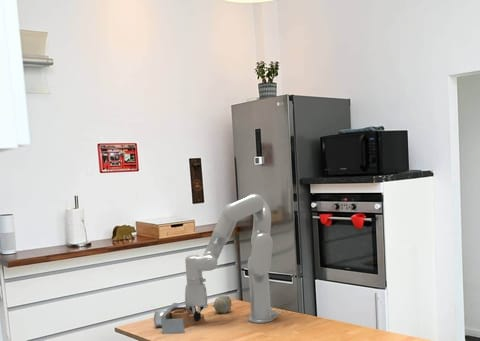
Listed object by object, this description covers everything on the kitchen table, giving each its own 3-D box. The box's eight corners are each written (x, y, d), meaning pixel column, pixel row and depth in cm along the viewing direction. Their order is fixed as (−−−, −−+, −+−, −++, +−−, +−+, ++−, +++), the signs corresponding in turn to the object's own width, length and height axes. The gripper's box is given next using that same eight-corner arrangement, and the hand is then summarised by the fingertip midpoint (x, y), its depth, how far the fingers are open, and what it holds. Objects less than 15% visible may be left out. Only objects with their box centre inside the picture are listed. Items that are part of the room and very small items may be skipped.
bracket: (180, 330, 221) (179, 314, 221) (168, 327, 226) (167, 312, 227) (207, 320, 234) (207, 306, 235) (196, 318, 240) (195, 304, 240)
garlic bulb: (231, 316, 249) (236, 297, 249) (223, 317, 241) (229, 298, 242) (216, 309, 253) (221, 291, 253) (208, 310, 245) (214, 291, 246)
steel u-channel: (194, 318, 239) (193, 302, 240) (183, 332, 216) (182, 314, 216) (162, 319, 241) (161, 303, 241) (149, 334, 217) (148, 316, 217)
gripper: (211, 279, 231) (214, 317, 230) (181, 281, 232) (183, 319, 232) (209, 282, 224) (212, 322, 223) (177, 284, 225) (180, 323, 224)
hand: (197, 320), depth 227 cm, fingers closed
